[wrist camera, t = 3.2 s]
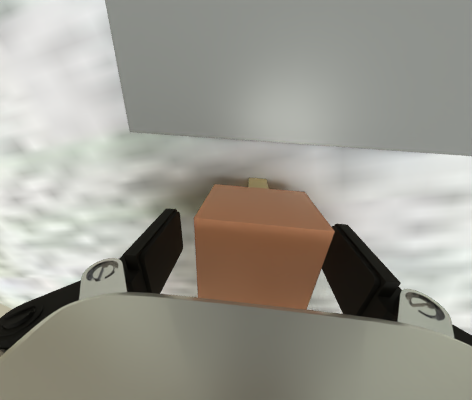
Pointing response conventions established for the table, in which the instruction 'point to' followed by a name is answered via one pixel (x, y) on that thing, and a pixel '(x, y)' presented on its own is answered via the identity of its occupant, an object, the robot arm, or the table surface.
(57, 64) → the table surface
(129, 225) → the table surface
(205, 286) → the plug
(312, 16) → the socket
